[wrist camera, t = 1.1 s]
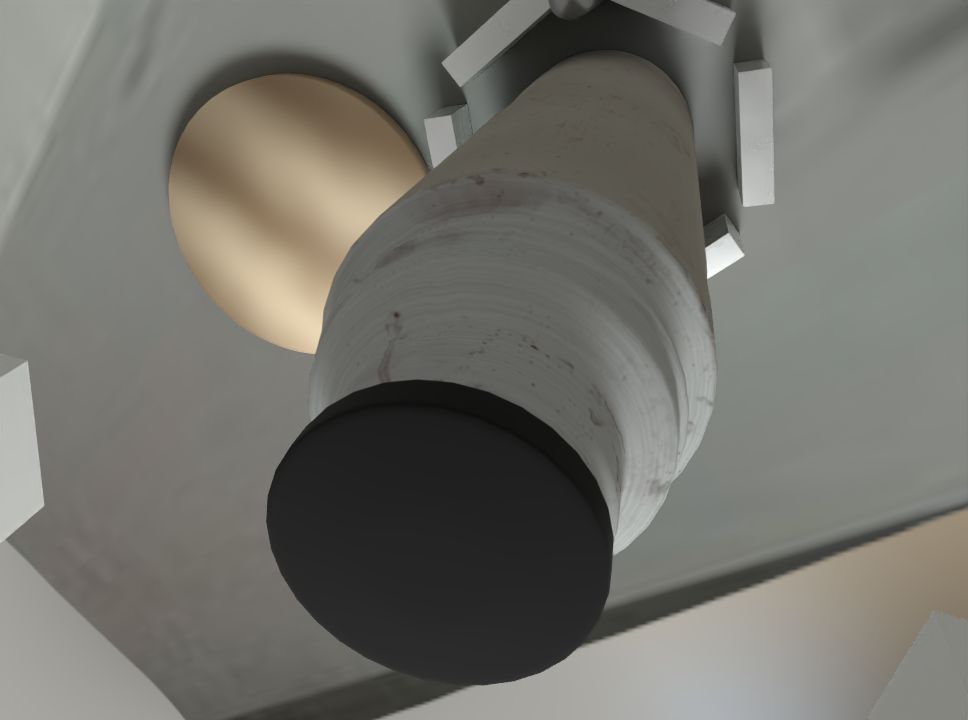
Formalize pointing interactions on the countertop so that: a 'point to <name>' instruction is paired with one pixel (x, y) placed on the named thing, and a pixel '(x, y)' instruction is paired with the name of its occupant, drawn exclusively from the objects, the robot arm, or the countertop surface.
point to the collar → (672, 3)
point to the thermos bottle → (506, 383)
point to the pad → (283, 196)
